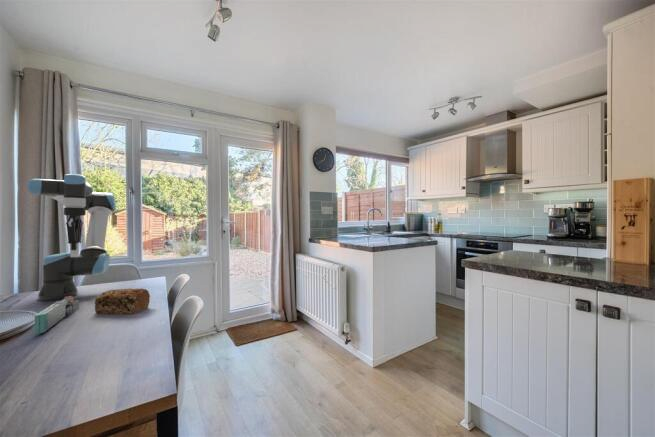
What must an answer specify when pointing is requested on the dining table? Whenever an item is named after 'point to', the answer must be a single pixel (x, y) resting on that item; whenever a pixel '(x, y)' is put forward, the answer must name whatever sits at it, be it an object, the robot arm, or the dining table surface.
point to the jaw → (54, 314)
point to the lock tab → (71, 298)
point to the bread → (122, 301)
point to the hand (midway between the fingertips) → (74, 256)
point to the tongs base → (69, 310)
